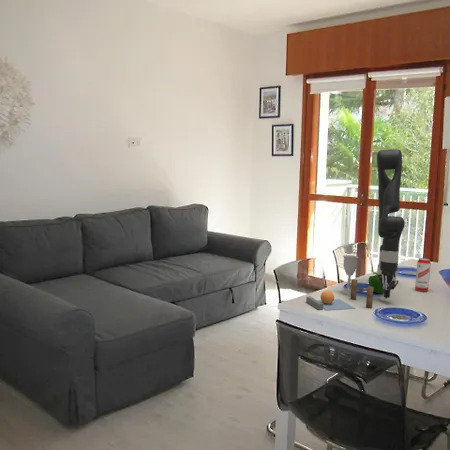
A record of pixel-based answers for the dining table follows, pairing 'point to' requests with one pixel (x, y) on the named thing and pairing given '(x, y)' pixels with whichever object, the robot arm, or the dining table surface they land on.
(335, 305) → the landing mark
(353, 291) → the post
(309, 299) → the wall
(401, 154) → the robot arm
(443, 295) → the dining table surface
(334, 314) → the dining table surface
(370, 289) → the post
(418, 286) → the beer can
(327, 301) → the ball
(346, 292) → the chalice
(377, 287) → the bell pepper
